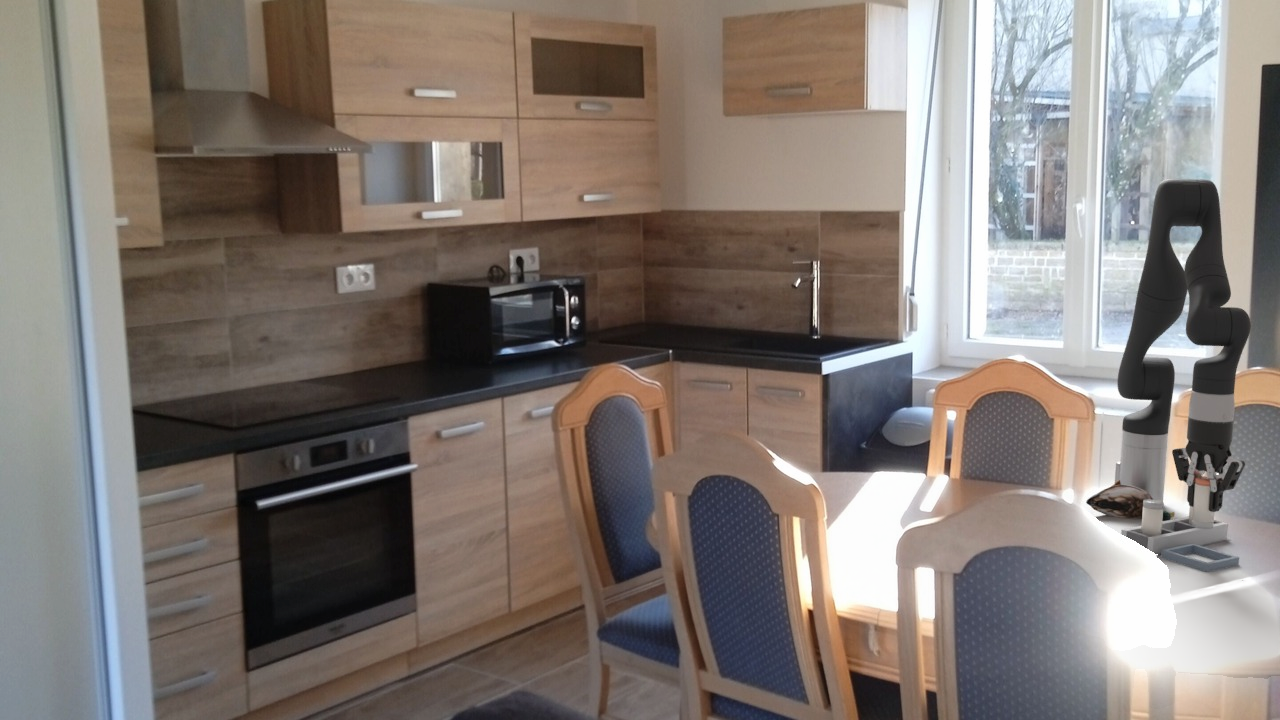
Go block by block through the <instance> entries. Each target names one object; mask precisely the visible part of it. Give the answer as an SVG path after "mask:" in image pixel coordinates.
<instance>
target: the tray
mask: <svg viewBox="0 0 1280 720" xmlns="http://www.w3.org/2000/svg"><path fill="white" fill-rule="evenodd" d="M1193 553H1194V554H1196V555H1199V556H1203V557H1205V558H1210V559H1213V561H1203V560H1201V559H1196V558H1193V557H1190V556H1187V555H1188V554H1193ZM1160 557H1161V558H1162V559H1164V560H1166V561H1167V560H1168V561H1171V562H1174V563H1178V564H1181V565H1184V566H1187V567H1191V568H1193V569H1196V570H1198V571H1199V570H1200V571H1203V572H1206V573H1210V572H1214V571H1215V572H1216V571H1218V570H1222V569H1228V568H1231V567H1237V566H1240V557H1239V556H1236V555H1233V554H1229V553H1226V552H1222V551H1219V550H1215V549H1212V548H1209V547H1206V546H1199V545H1196V544H1188V545H1183V546H1178V547H1174V548H1169V549H1164V550H1162V554H1161V556H1160Z"/></svg>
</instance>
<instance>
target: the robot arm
mask: <svg viewBox="0 0 1280 720" xmlns="http://www.w3.org/2000/svg"><path fill="white" fill-rule="evenodd" d="M1220 203H1221V202H1220V196H1219V191H1218V189H1217V186H1216V184H1215V183H1214V182H1213V181H1211V180H1209V179H1203V178H1196V179H1195V178H1169V179H1168V178H1167V179H1164V180H1162V181H1161V182H1160V183H1159V185H1158V187H1157V189H1156V191H1155V196H1154V201H1153V208H1152V213H1151V214H1152V215H1151V220H1150V222H1151V223H1150V230H1149V237H1148V245H1147V248H1146V249H1147V250H1146V255H1145V260H1144V264H1143V269H1142V273H1141V276H1140V281H1139V284H1138V288H1137V293H1136V294H1137V295H1136V298H1135V303H1134V304H1135V305H1134V311H1133V315H1132V321H1131V327H1130V331H1129V335H1128V338H1127V341H1126V344H1125V348H1124V352H1123V353H1122V354H1123V355H1122V358H1121V362H1120V365H1119V369H1118V374H1117V391H1118V393H1119V395H1120V396H1121V398H1124V399H1128V400H1133V401H1134V400H1135V401H1137V400H1138V401H1151V402H1150V404H1149V405H1147V406H1145V407H1144V408H1143V409H1141V410H1138V411H1136V412H1132V413H1129V414H1126V415H1125V416H1124V417H1123V419H1122V427H1121V428H1122V429H1121V442H1120V443H1121V445H1120V458H1119V461H1117V462H1116V463H1115V472H1114V473H1115V474H1114V484H1115V483H1116V482H1117V481H1119V480H1120V483H1121V485H1130V486H1134V487H1138V488H1140V489H1142V490H1144V491H1146V492H1147V493H1148V494H1149V495H1150V496H1151V497H1152V498H1153V500H1159V501H1162V502H1164V495H1165V481H1166V466H1167V451H1168V440H1169V439H1168V437H1169V426H1170V420H1171V412H1172V403H1173V396H1174V395H1173V394H1174V388H1175V381H1176V380H1175V379H1176V378H1175V374H1176V372H1175V366H1174V364H1173V362H1172V360H1171V359H1169V358H1168V357H1159V356H1158V357H1156V356H1155V357H1153V356H1151V357H1150V356H1146V355H1147V353H1148V351H1149V349H1150V347H1151V346H1152V345H1153V344H1154V343H1155V342H1156V341H1157V339H1159V338H1160V337H1161V336H1162V335H1163V334H1165V332H1167V331H1168V330H1169V328H1171V327H1172V326H1173V325H1174V324H1175V323H1176V322H1177V321H1178V319H1179V318H1180V316H1181V315H1182V313H1183V310H1184V307H1185V302H1186V299H1187V294H1188V301H1189V303H1188V305H1189V306H1188V313H1187V319H1186V323H1185V334H1186V336H1187V338H1188V339H1189V341H1190V342H1191V343H1193V344H1194V345H1196V346H1203V347H1205V346H1207V347H1223V348H1222V349H1221V351H1219V353H1218V354H1217V355H1215V356H1210V357H1205V358H1201V359H1198V360H1196V361H1195V362H1194V364H1193V371H1192V382H1191V383H1192V384H1191V395H1190V397H1189V404H1188V417H1187V430H1186V439H1187V441H1188V442H1187V443H1186V446H1185V447H1179V448H1174V449H1172V451H1171V454H1172V458H1173V462H1174V465H1175V470H1176V474H1177V477H1178V480H1179V481H1180V482H1181V481H1182V482H1184V483H1186V485H1187V497H1186V500H1187V503H1188V506H1189V507H1190V506H1192V507H1193V504H1194V491H1195V478H1196V477H1198V476H1204V475H1205V473H1206V474H1207V476H1206V477H1208V479H1209V480H1210V485H1211V490H1212V491H1211V492H1210V499H1209V511H1212V512H1214V513H1216V512H1219V511H1220V509H1222V508H1223V500H1224V493H1225V491H1230V490H1234V489H1235V487H1236V484H1237V483H1238V481H1239V479H1240V477H1241V474H1242V473H1243V470H1244V468H1245V466H1246V462H1245V461H1244V460H1238V459H1236V458H1235V457H1233V456H1232V455H1233V454H1232V452H1231V449H1230V448H1231V444H1232V442H1233V433H1234V432H1233V431H1234V420H1235V419H1234V417H1235V409H1236V408H1235V407H1236V405H1235V388H1236V387H1235V386H1236V376H1237V375H1236V374H1237V369H1238V366H1239V363H1240V359H1241V356H1242V354H1243V350H1244V349H1245V346H1246V344H1247V341H1248V339H1249V336H1250V333H1251V329H1252V326H1251V325H1252V323H1251V318H1250V316H1249V314H1248V313H1247V311H1246V310H1245V309H1243V308H1240V307H1235V306H1234V307H1232V306H1231V307H1230V306H1228V307H1227V306H1226V307H1225V305H1226V304H1227V303H1228V302H1229V300H1230V299H1231V297H1232V293H1231V292H1232V291H1231V286H1230V281H1229V278H1228V273H1227V270H1226V266H1225V260H1224V252H1223V235H1222V233H1223V232H1222V220H1221V219H1222V218H1221V204H1220ZM1172 227H1189V228H1191V227H1200V229H1201V234H1200V237H1199V239H1198V241H1197V242H1196V244H1195V245H1194V247H1193V248H1192V250H1190V253H1189V255H1188V256H1187V258H1186V260H1185V264H1184V268H1183V266H1182V264H1181V262H1180V260H1179V258H1178V257H1177V255H1176V252H1175V251H1174V249H1173V245H1172V243H1171V230H1172ZM1189 460H1190V461H1189ZM1226 465H1227V466H1226ZM1225 466H1226V467H1225ZM1226 469H1227V471H1226Z"/></svg>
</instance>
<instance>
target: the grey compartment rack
mask: <svg viewBox="0 0 1280 720" xmlns="http://www.w3.org/2000/svg"><path fill="white" fill-rule="evenodd" d="M1188 523H1189V515H1188V516H1183V517H1178V518H1174V519H1170V520H1167V521H1162V533H1161V535H1157V536H1153V537H1151V536H1148V535H1144V534H1141V526H1142V525H1138V526H1132V527H1127V528H1121V532H1120V535H1121V534H1122V535H1124V536H1126V537H1128V538H1130V539H1132V540H1134V541H1136V542H1137V543H1139V544H1140V545H1142V546H1144V547H1145V548H1147V549H1149V550H1150V551H1152V552H1154V553H1155V554H1158V556H1157V557H1161V554H1162V550H1164V549H1169V548H1174V547H1178V546H1183V545H1188V544H1196V545H1199V546H1202V547H1206V546H1212V545H1215V544H1221V543H1225V542H1229V541H1231V539H1229V538H1228V527H1229V524H1228V523H1227V522H1223V521H1219V520H1215V519H1214V525H1213V528H1212V529H1200V528H1196V527H1193V526H1192V525H1191V524H1188Z"/></svg>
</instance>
